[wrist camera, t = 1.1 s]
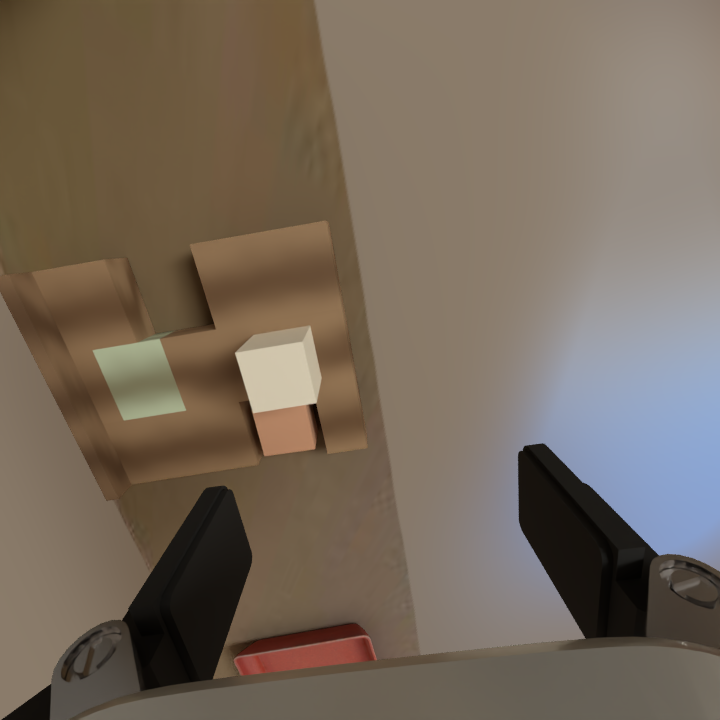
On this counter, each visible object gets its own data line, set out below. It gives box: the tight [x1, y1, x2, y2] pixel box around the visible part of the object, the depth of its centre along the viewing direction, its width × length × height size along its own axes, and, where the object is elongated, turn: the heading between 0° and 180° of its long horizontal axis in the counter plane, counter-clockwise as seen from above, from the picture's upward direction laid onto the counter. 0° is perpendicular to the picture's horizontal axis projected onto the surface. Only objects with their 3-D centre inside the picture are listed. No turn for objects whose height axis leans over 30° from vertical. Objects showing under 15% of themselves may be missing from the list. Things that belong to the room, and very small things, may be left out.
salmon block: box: [252, 404, 318, 456], centre depth 34 cm, size 5×5×4 cm
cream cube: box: [235, 326, 322, 413], centre depth 28 cm, size 5×5×5 cm
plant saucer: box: [234, 624, 377, 676], centre depth 48 cm, size 18×18×3 cm
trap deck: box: [0, 221, 368, 501], centre depth 31 cm, size 21×25×5 cm
